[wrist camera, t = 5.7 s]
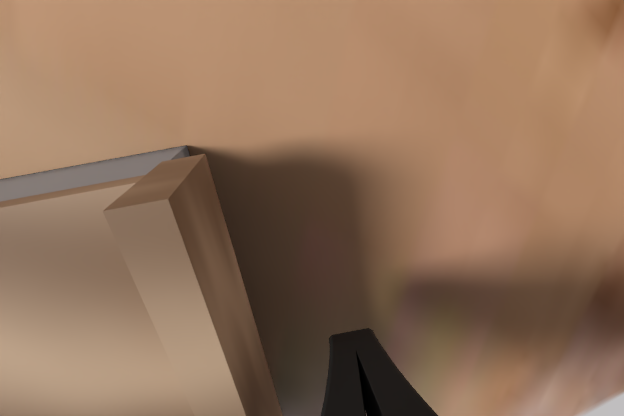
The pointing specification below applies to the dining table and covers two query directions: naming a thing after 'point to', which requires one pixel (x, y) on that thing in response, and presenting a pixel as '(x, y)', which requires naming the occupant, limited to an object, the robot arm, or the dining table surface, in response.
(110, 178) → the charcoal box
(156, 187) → the box lid
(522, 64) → the dining table surface
